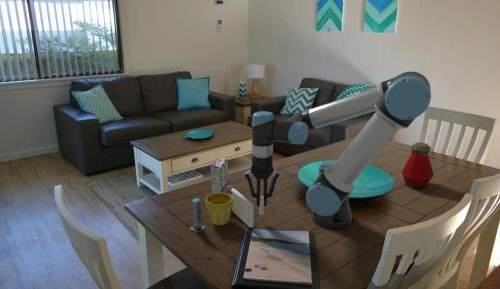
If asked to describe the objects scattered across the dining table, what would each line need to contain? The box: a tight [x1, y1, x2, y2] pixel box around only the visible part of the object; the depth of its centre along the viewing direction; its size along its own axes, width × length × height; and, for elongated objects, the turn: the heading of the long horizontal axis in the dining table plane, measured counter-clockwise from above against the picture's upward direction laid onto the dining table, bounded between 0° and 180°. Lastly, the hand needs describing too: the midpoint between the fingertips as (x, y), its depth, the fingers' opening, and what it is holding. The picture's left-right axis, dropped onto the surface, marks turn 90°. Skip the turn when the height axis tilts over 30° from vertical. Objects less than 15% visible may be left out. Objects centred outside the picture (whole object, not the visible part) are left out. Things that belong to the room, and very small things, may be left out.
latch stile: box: [188, 197, 207, 234], centre depth 141 cm, size 4×4×12 cm
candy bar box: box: [210, 157, 230, 194], centre depth 166 cm, size 11×5×16 cm, turn 168°
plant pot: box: [205, 193, 233, 226], centre depth 147 cm, size 10×10×10 cm
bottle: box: [401, 141, 435, 189], centre depth 177 cm, size 16×14×20 cm
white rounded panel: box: [228, 184, 255, 228], centre depth 148 cm, size 18×3×10 cm, turn 29°
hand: (261, 213), depth 146 cm, fingers closed
